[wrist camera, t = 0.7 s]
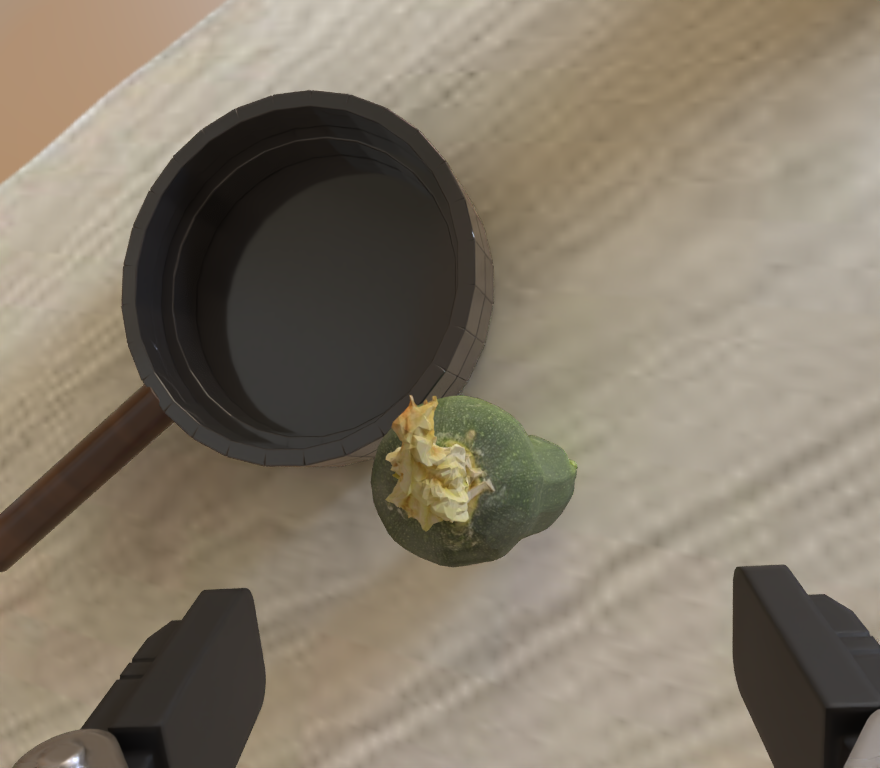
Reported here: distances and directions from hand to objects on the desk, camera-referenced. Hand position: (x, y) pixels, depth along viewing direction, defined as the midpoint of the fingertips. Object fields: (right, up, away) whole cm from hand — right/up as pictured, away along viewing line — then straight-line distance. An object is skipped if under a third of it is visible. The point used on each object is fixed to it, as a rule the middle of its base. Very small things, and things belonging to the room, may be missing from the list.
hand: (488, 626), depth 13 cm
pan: (-6, +8, +23) cm, 25 cm away
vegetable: (+3, 0, +20) cm, 21 cm away
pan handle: (-16, 0, +22) cm, 28 cm away
